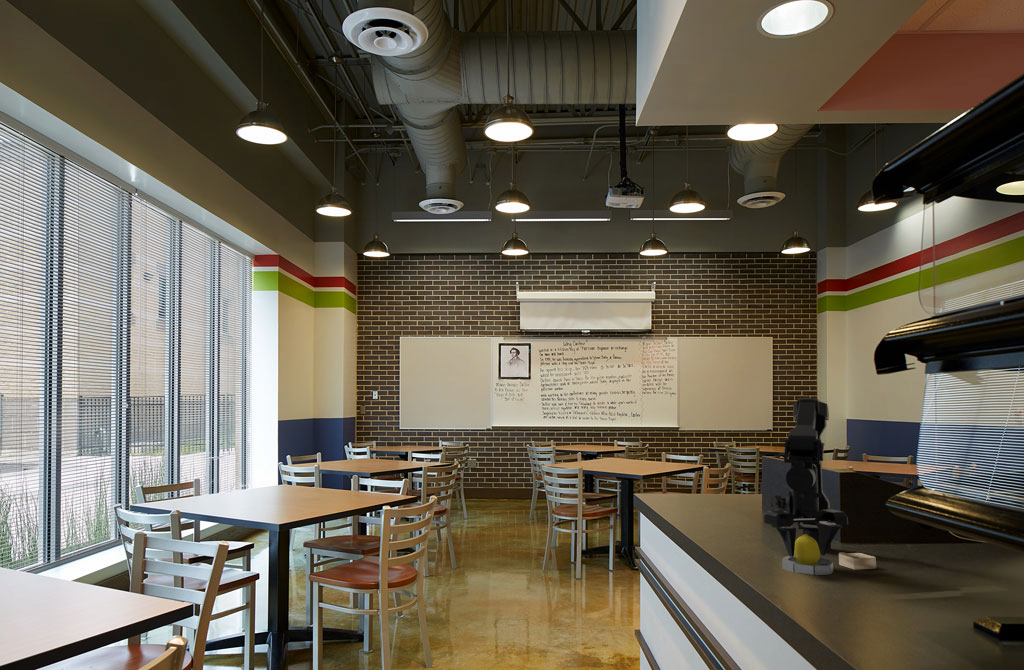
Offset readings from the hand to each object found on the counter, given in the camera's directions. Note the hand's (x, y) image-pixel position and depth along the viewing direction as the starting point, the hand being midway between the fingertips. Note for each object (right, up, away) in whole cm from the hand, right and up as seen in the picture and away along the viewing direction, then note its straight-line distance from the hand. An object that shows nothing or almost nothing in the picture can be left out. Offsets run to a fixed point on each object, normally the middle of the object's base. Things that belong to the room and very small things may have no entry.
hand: (807, 555), depth 157 cm
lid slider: (+13, -3, +3) cm, 14 cm away
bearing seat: (0, -3, 0) cm, 3 cm away
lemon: (0, -3, 0) cm, 3 cm away
